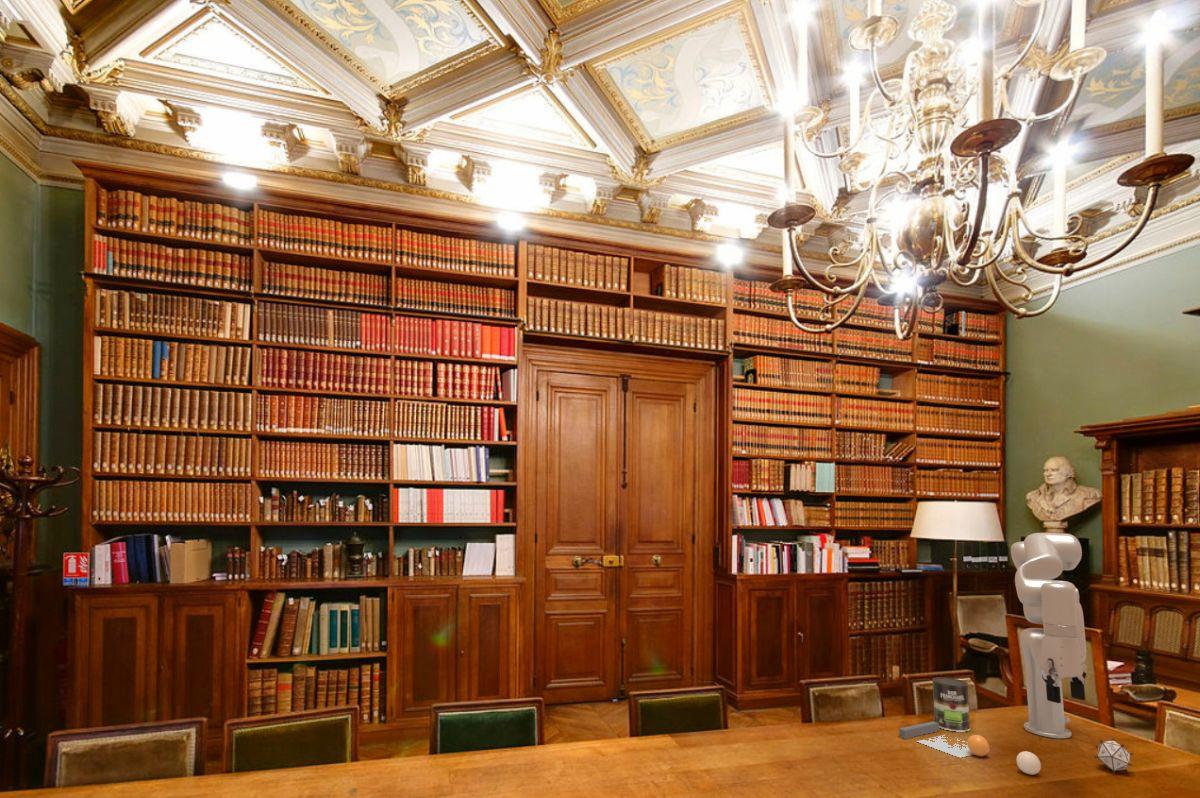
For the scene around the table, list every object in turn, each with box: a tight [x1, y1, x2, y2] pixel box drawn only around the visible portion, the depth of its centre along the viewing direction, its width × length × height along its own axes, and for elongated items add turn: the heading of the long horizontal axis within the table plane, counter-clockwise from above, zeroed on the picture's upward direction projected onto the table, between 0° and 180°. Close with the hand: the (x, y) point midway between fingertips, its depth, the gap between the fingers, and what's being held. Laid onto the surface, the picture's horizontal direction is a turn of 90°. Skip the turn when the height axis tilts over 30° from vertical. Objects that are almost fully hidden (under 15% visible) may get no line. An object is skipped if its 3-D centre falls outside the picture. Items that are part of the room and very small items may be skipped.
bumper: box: [898, 720, 940, 740], centre depth 208 cm, size 16×2×2 cm, turn 118°
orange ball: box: [966, 734, 990, 757], centre depth 191 cm, size 6×6×6 cm
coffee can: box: [931, 676, 971, 733], centre depth 216 cm, size 10×10×14 cm
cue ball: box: [1016, 750, 1042, 776], centre depth 179 cm, size 6×6×6 cm
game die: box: [1093, 737, 1134, 775], centre depth 182 cm, size 9×8×10 cm
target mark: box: [915, 734, 975, 759], centre depth 198 cm, size 14×14×1 cm
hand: (1066, 700), depth 173 cm, fingers open, 9 cm apart
